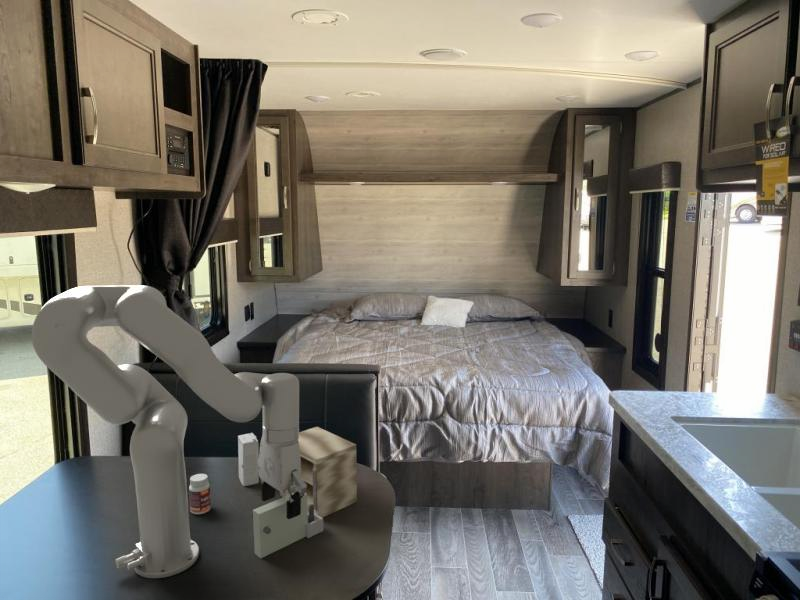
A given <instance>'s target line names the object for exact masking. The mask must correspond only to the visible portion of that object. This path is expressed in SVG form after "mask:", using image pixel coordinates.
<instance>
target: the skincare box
mask: <svg viewBox="0 0 800 600" xmlns="http://www.w3.org/2000/svg"><path fill="white" fill-rule="evenodd" d="M237 446H238V447H237V448H238V449H237V453H238V455H237V456H238V478H239V481H240V483H241V485H242V487H247V486H252V485H257V484H259V483H260V477H259V466H258V462H257V459H258V458H259V452H260V444H259V439H257V436H256V435H255V434H254V433H253V432H250V433H244V434H240V435H237Z"/></svg>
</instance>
